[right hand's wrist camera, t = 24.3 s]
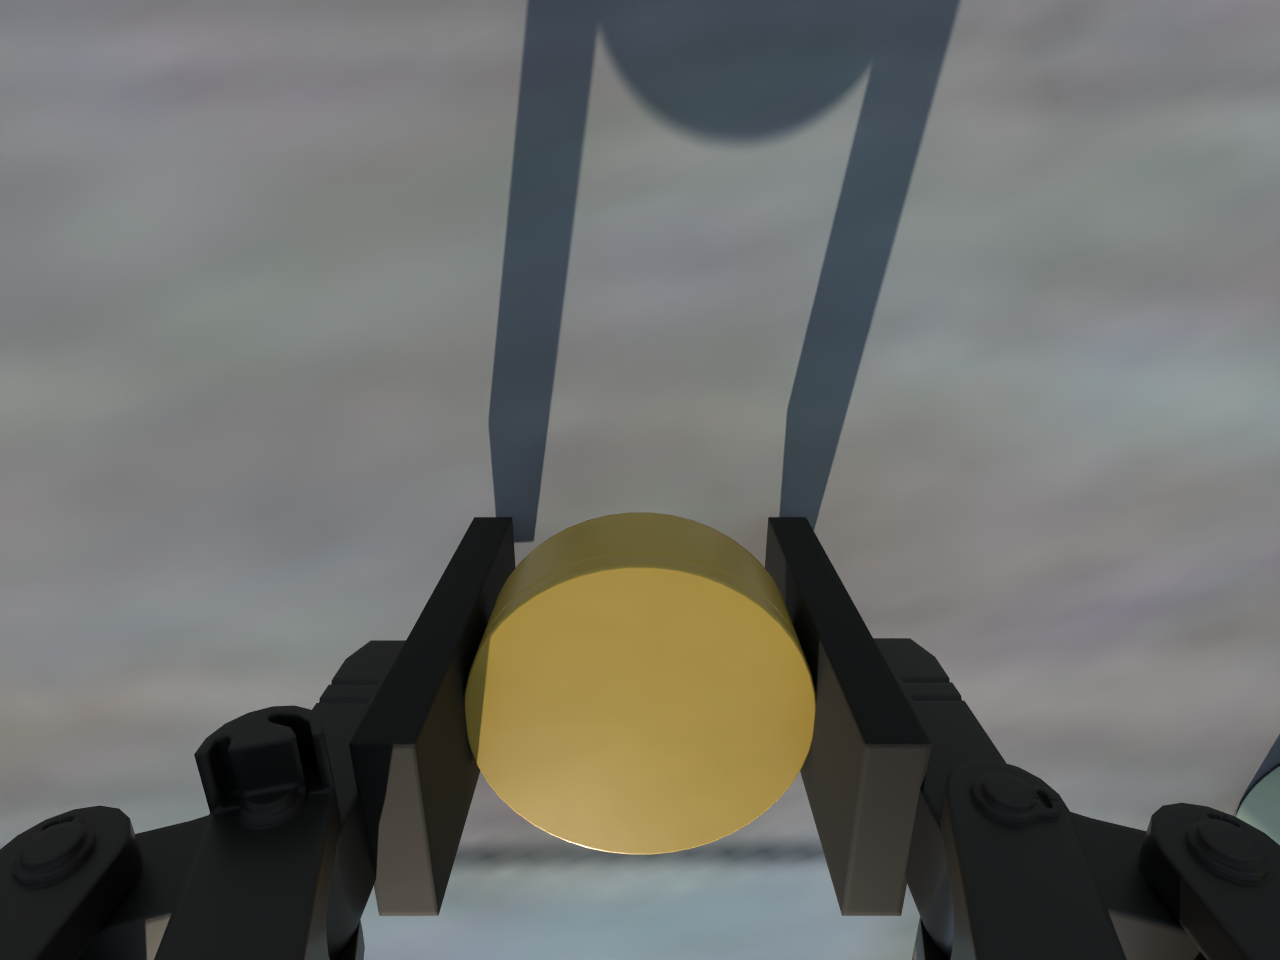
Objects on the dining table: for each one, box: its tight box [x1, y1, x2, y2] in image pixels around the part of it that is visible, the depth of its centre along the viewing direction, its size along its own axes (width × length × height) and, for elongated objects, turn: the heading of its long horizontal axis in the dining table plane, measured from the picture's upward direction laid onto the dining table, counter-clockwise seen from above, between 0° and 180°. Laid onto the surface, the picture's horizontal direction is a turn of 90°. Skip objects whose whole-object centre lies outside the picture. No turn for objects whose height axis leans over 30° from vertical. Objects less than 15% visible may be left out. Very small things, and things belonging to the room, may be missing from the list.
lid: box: [464, 513, 816, 854], centre depth 11 cm, size 5×5×2 cm
